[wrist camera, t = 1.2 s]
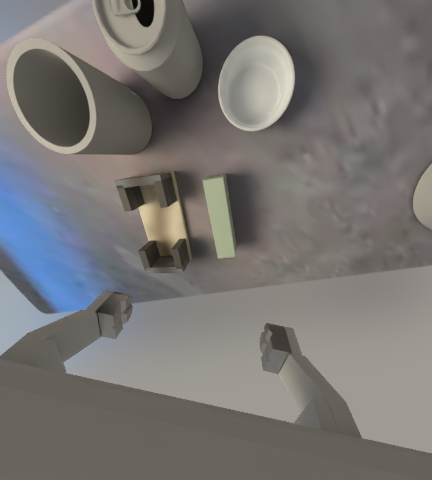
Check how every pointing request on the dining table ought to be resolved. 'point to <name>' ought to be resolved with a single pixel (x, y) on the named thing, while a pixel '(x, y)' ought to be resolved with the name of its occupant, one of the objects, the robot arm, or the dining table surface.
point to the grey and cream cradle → (158, 220)
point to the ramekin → (256, 83)
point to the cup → (74, 103)
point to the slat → (220, 215)
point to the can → (153, 42)
